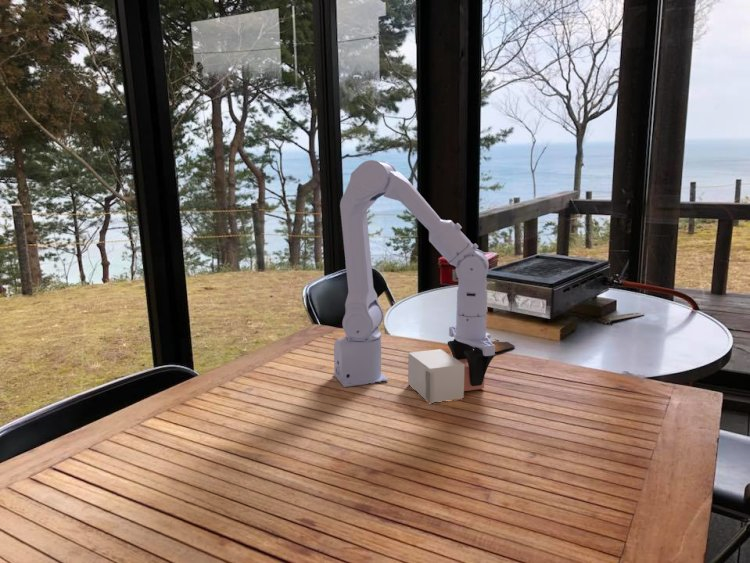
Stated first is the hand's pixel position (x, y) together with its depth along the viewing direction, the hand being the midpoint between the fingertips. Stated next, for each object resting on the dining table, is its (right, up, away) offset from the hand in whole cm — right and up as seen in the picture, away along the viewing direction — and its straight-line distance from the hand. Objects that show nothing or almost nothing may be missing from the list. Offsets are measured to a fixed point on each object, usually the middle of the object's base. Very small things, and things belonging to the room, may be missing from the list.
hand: (469, 380), depth 109 cm
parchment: (+5, +2, +23) cm, 23 cm away
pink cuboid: (-3, -2, -1) cm, 4 cm away
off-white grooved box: (-7, -2, -2) cm, 8 cm away
